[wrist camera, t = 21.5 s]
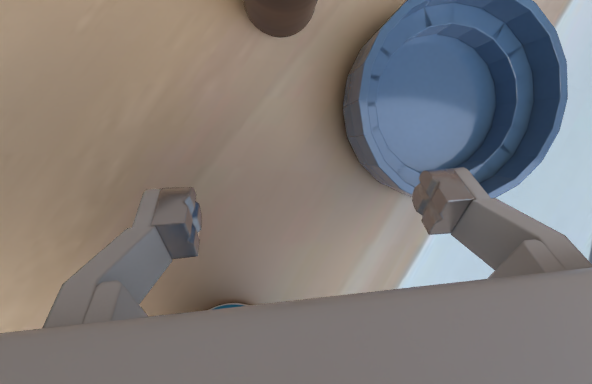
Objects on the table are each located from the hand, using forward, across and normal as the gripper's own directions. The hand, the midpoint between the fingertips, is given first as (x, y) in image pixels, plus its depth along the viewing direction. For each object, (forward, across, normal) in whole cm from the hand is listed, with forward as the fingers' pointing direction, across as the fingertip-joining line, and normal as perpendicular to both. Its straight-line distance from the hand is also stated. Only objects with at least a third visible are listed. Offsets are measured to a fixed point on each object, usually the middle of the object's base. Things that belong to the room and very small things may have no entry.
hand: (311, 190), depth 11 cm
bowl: (+14, -13, +5) cm, 20 cm away
